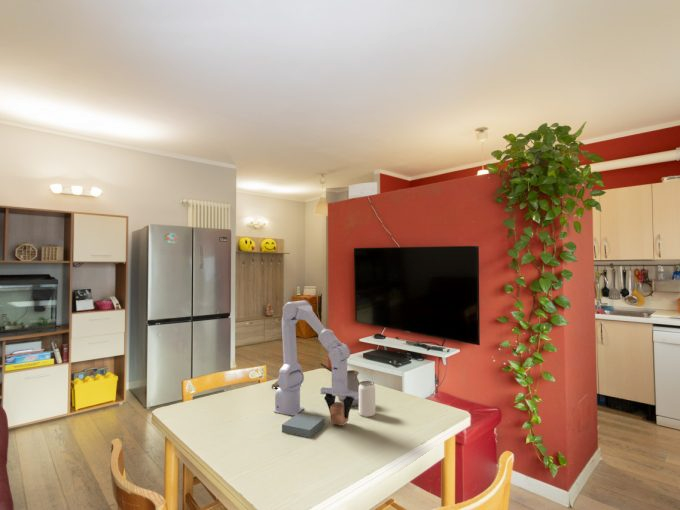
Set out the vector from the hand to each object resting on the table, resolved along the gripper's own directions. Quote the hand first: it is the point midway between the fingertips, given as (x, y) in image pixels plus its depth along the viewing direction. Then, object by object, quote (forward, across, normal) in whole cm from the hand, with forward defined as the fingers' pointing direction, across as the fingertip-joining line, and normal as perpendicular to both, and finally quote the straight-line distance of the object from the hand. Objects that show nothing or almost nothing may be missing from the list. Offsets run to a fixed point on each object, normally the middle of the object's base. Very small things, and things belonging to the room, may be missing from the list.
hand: (339, 416), depth 133 cm
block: (+2, 0, 0) cm, 2 cm away
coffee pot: (+3, -9, +22) cm, 24 cm away
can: (+3, +6, +13) cm, 15 cm away
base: (+3, -10, -8) cm, 13 cm away
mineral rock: (+4, -44, +29) cm, 53 cm away
